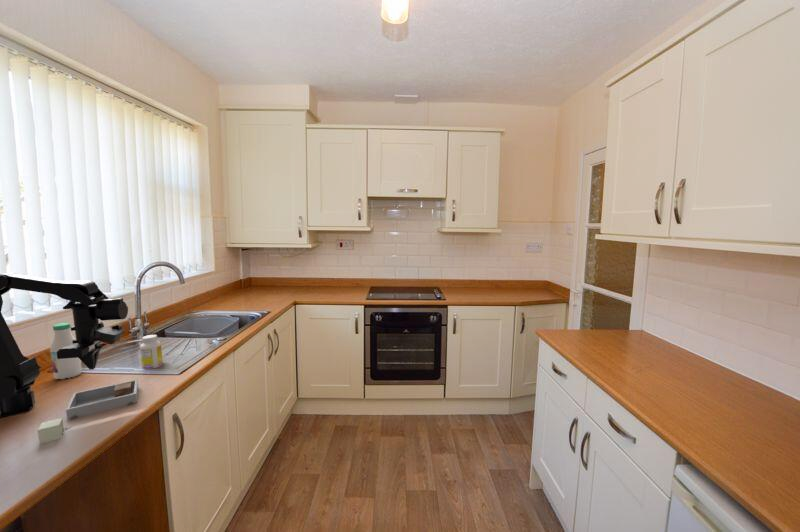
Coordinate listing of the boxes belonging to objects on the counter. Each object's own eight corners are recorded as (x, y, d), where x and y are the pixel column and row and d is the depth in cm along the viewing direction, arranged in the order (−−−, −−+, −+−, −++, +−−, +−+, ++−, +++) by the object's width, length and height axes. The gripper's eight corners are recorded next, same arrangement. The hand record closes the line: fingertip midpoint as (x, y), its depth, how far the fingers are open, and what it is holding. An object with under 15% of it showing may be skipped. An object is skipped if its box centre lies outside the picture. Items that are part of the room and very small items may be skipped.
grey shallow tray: (67, 422, 99) (65, 410, 98) (75, 403, 109) (74, 392, 109) (137, 405, 108) (135, 394, 107) (138, 388, 119) (137, 378, 118)
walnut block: (115, 402, 108) (114, 390, 108) (116, 397, 112) (115, 385, 111) (131, 398, 111) (130, 386, 110) (132, 393, 114) (130, 382, 113)
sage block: (39, 444, 90) (37, 430, 89) (43, 436, 93) (41, 422, 92) (60, 438, 92) (58, 424, 91) (64, 431, 95) (62, 417, 95)
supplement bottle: (160, 362, 141) (157, 332, 140) (165, 367, 137) (162, 335, 135) (140, 368, 136) (136, 336, 134) (145, 372, 132) (142, 340, 130)
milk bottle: (86, 369, 135) (80, 320, 132) (76, 378, 128) (69, 326, 125) (61, 373, 132) (54, 322, 129) (49, 381, 125) (41, 328, 122)
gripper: (97, 328, 100) (103, 379, 102) (132, 312, 118) (136, 355, 120) (51, 331, 98) (59, 383, 100) (94, 314, 116) (99, 358, 118)
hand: (92, 369), depth 109 cm, fingers closed
